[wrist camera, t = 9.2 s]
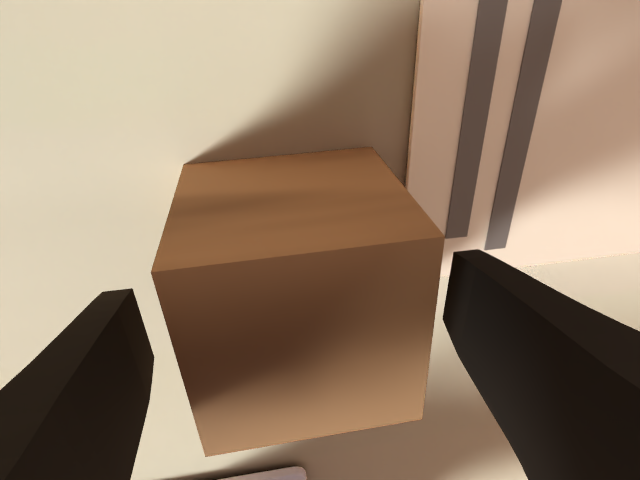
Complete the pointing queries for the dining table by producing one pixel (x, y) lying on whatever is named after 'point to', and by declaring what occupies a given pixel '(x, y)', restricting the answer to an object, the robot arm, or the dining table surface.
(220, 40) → the dining table surface
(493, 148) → the flyer
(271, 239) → the walnut cube
